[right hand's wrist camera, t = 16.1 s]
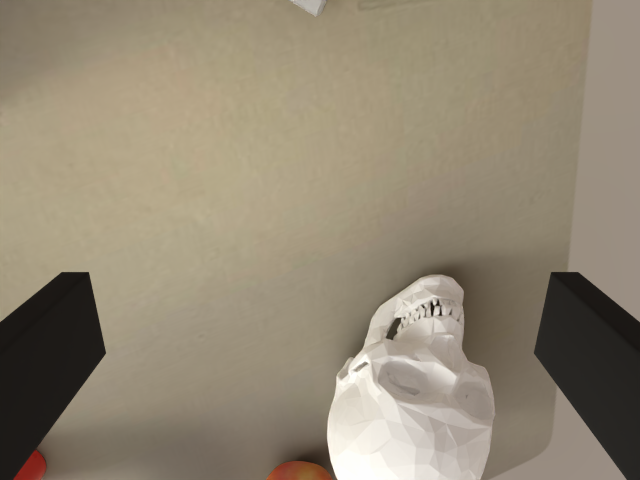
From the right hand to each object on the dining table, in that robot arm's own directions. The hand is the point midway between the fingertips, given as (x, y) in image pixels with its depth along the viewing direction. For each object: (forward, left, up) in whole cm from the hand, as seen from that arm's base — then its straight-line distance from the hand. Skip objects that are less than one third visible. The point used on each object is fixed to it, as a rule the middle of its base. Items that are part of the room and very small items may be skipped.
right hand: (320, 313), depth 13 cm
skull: (-17, -17, -29) cm, 38 cm away
